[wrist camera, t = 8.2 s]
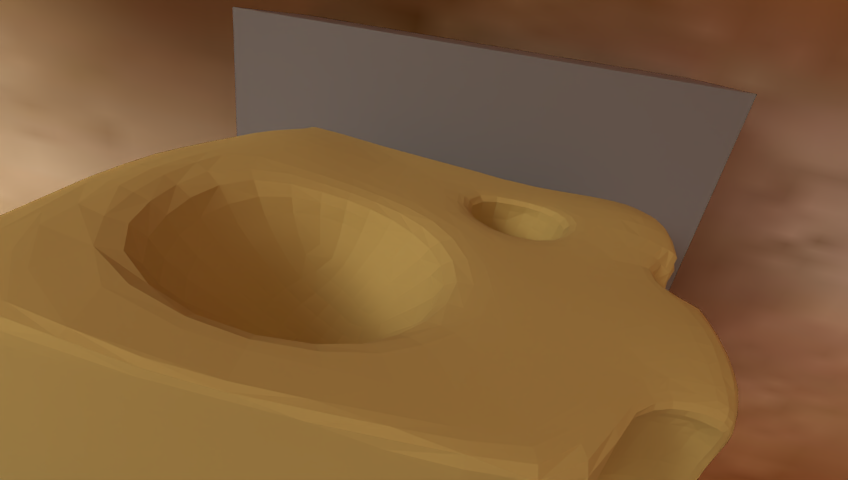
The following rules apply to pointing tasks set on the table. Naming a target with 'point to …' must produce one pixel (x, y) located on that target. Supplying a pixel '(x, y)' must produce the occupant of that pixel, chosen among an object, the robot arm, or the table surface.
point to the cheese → (346, 325)
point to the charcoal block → (494, 111)
